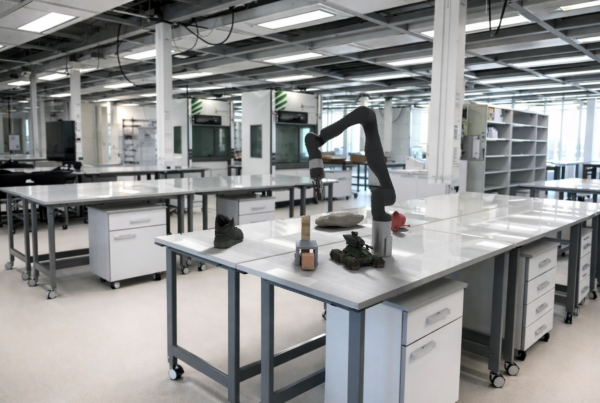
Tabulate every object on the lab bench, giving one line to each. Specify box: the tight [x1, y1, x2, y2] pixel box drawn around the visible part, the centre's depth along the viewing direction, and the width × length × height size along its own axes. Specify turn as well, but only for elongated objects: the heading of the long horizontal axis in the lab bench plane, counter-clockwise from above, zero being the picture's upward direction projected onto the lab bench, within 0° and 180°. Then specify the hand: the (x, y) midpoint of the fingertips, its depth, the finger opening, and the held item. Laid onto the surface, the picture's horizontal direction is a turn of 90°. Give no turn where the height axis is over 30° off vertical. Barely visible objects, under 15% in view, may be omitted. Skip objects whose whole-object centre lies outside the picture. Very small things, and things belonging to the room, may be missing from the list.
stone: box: [314, 212, 365, 228], centre depth 308 cm, size 33×9×20 cm
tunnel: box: [295, 239, 319, 267], centre depth 218 cm, size 14×9×8 cm
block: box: [301, 252, 315, 268], centre depth 206 cm, size 5×5×5 cm
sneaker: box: [213, 213, 245, 249], centre depth 254 cm, size 12×29×17 cm, turn 171°
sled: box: [299, 214, 315, 270], centre depth 215 cm, size 27×5×19 cm, turn 2°
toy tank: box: [329, 230, 386, 271], centre depth 217 cm, size 17×27×14 cm, turn 20°
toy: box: [390, 210, 411, 233], centre depth 301 cm, size 18×17×30 cm
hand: (319, 200), depth 245 cm, fingers closed
